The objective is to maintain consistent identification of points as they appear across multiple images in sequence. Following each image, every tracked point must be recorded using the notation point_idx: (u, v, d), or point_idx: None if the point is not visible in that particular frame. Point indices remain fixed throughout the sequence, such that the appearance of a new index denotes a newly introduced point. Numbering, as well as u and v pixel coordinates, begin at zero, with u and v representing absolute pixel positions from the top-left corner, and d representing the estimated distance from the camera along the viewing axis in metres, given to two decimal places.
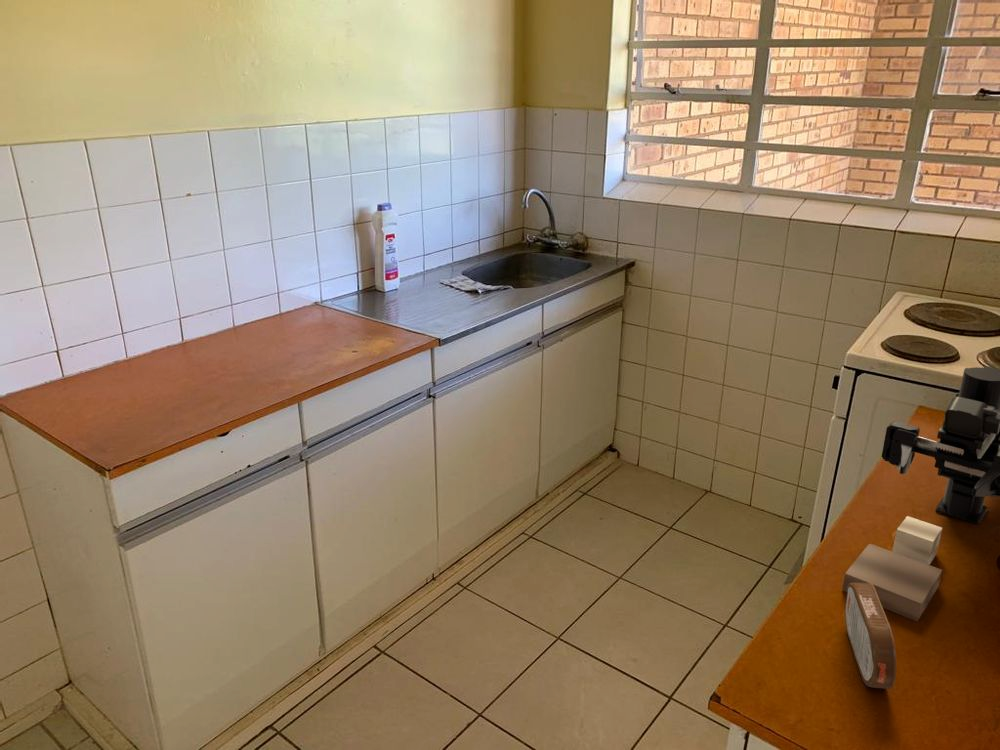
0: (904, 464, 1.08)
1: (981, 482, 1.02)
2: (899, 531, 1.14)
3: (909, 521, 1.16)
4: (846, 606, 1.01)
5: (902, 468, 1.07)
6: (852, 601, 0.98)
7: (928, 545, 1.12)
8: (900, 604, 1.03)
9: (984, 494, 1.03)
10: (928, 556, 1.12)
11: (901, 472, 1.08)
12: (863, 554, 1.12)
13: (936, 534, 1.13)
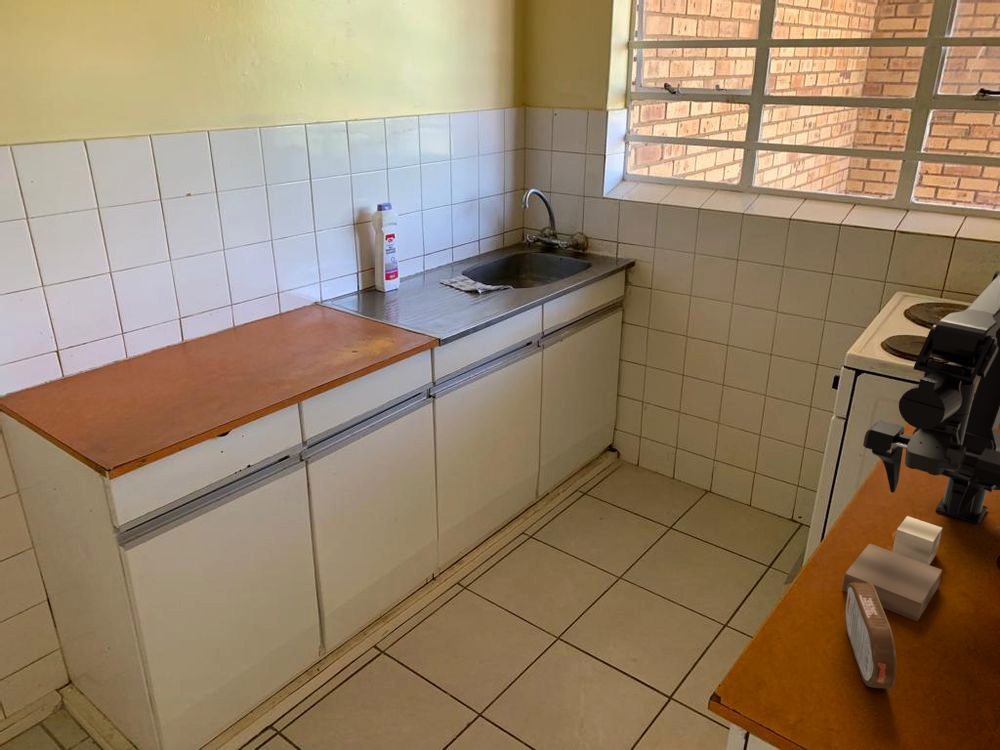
0: (892, 488, 1.15)
1: (963, 505, 1.08)
2: (899, 531, 1.14)
3: (909, 521, 1.16)
4: (846, 606, 1.01)
5: (892, 492, 1.15)
6: (852, 601, 0.98)
7: (928, 545, 1.12)
8: (900, 604, 1.03)
9: None
10: (928, 556, 1.12)
11: None
12: (863, 554, 1.12)
13: (936, 534, 1.13)
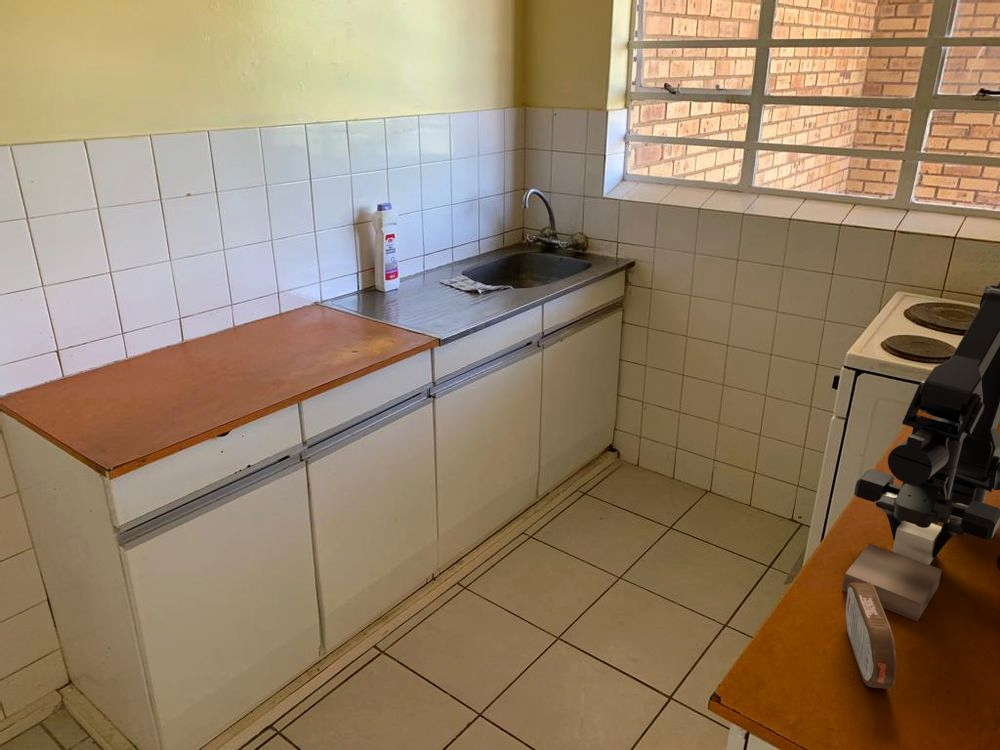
0: None
1: (936, 549, 1.13)
2: (899, 530, 1.14)
3: None
4: (846, 606, 1.01)
5: None
6: (852, 601, 0.98)
7: (928, 545, 1.12)
8: (900, 604, 1.03)
9: None
10: (928, 555, 1.12)
11: None
12: (863, 554, 1.12)
13: (936, 533, 1.13)
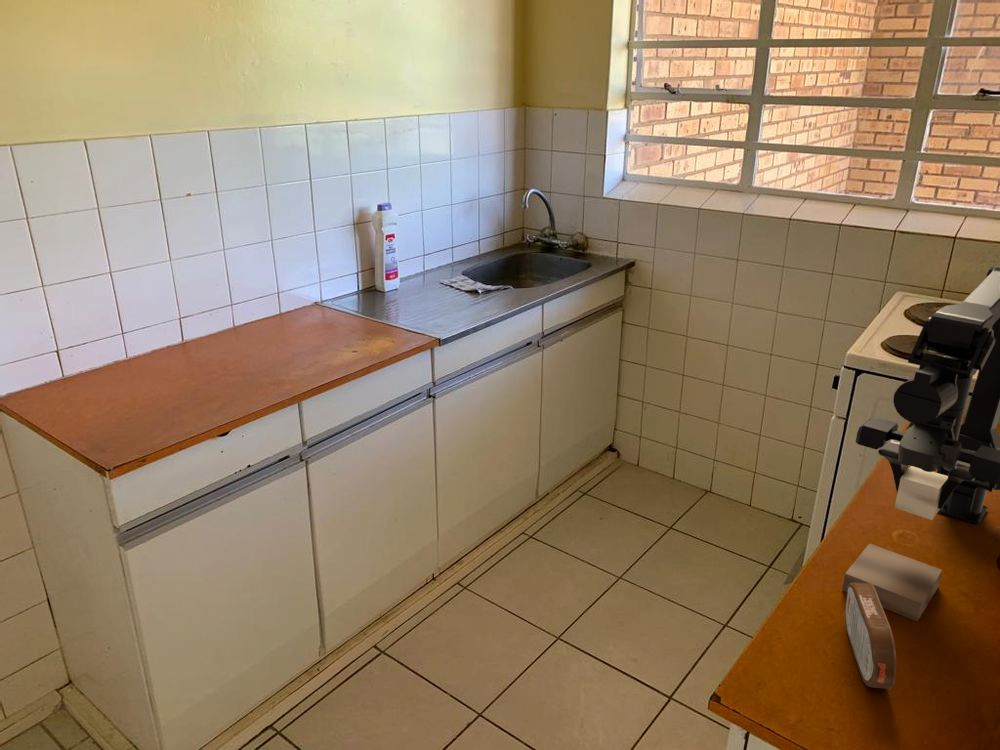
0: None
1: (942, 499, 1.06)
2: (903, 479, 1.08)
3: (913, 470, 1.10)
4: (846, 606, 1.01)
5: None
6: (852, 601, 0.98)
7: (934, 493, 1.05)
8: (900, 604, 1.03)
9: (952, 492, 1.07)
10: (934, 505, 1.06)
11: None
12: (863, 554, 1.12)
13: (942, 482, 1.06)
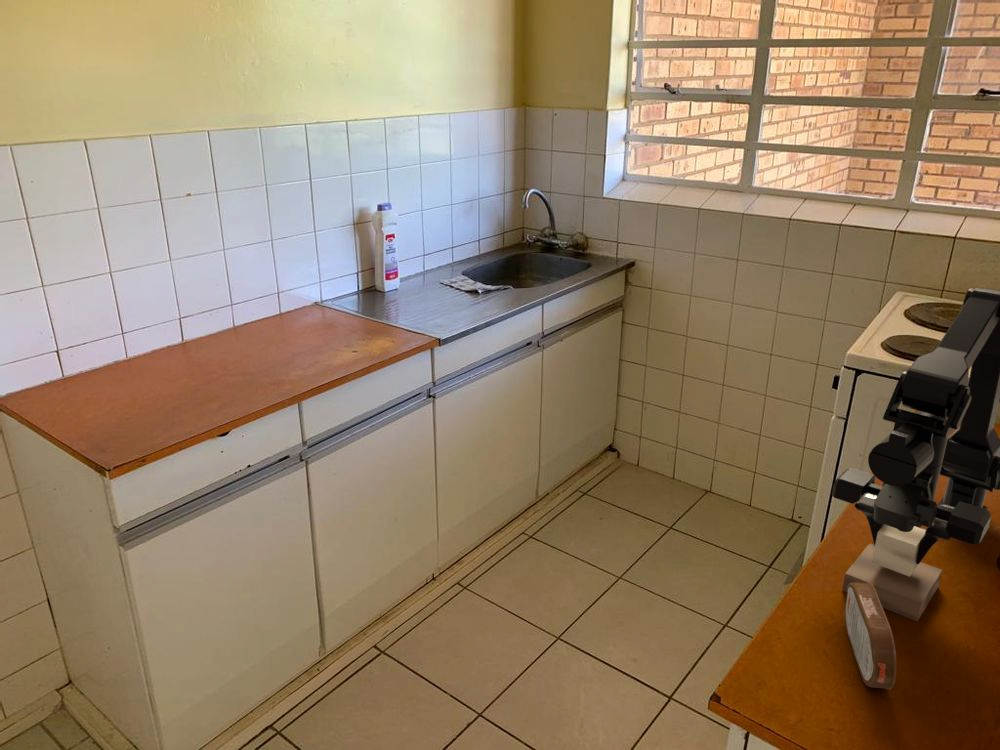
0: None
1: (920, 555, 1.03)
2: (880, 534, 1.05)
3: None
4: (846, 606, 1.01)
5: None
6: (852, 601, 0.98)
7: (911, 550, 1.03)
8: (900, 604, 1.03)
9: None
10: (911, 561, 1.03)
11: None
12: (863, 554, 1.12)
13: (920, 537, 1.04)
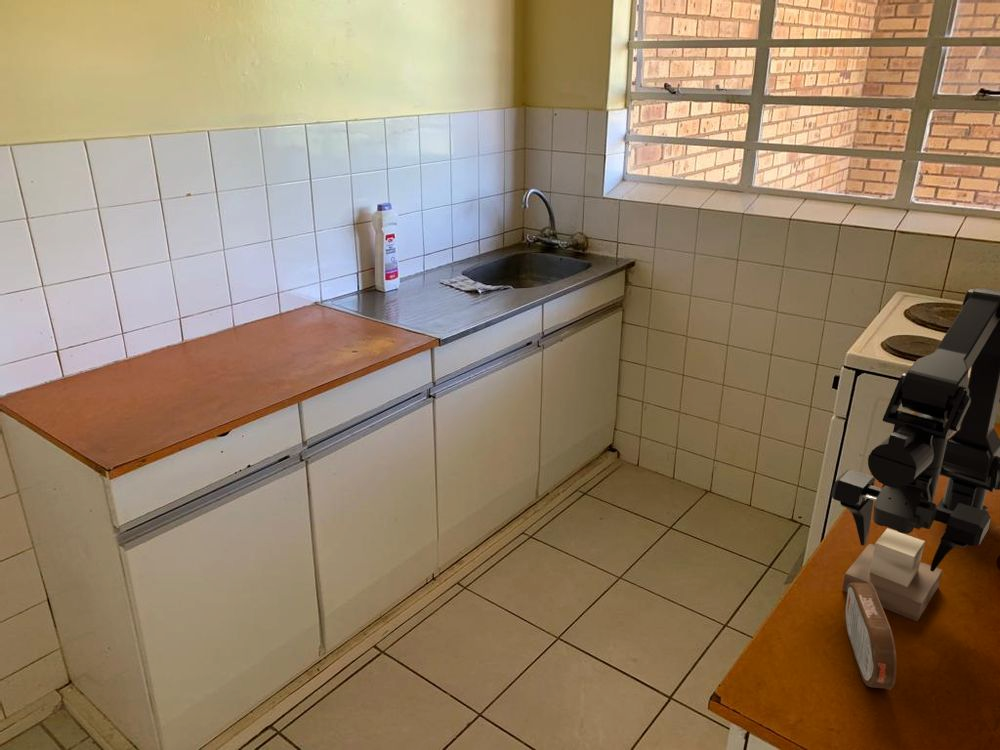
0: (862, 541, 1.09)
1: (935, 562, 1.02)
2: (878, 545, 1.05)
3: (889, 534, 1.08)
4: (846, 606, 1.01)
5: (862, 545, 1.09)
6: (852, 601, 0.98)
7: (908, 561, 1.03)
8: (900, 604, 1.03)
9: None
10: (909, 572, 1.04)
11: None
12: (863, 554, 1.12)
13: (918, 548, 1.04)
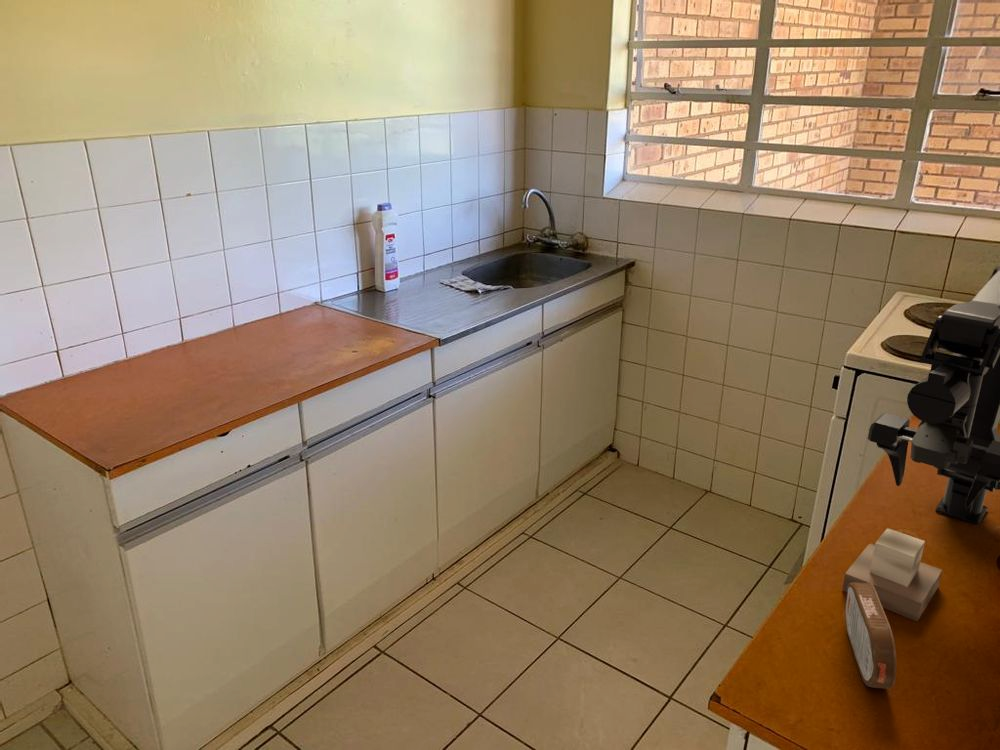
0: (898, 481, 1.13)
1: (970, 498, 1.06)
2: (878, 545, 1.05)
3: (889, 534, 1.08)
4: (846, 606, 1.01)
5: (898, 485, 1.13)
6: (852, 601, 0.98)
7: (908, 561, 1.03)
8: (900, 604, 1.03)
9: None
10: (909, 572, 1.04)
11: (899, 484, 1.14)
12: (863, 554, 1.12)
13: (918, 548, 1.04)
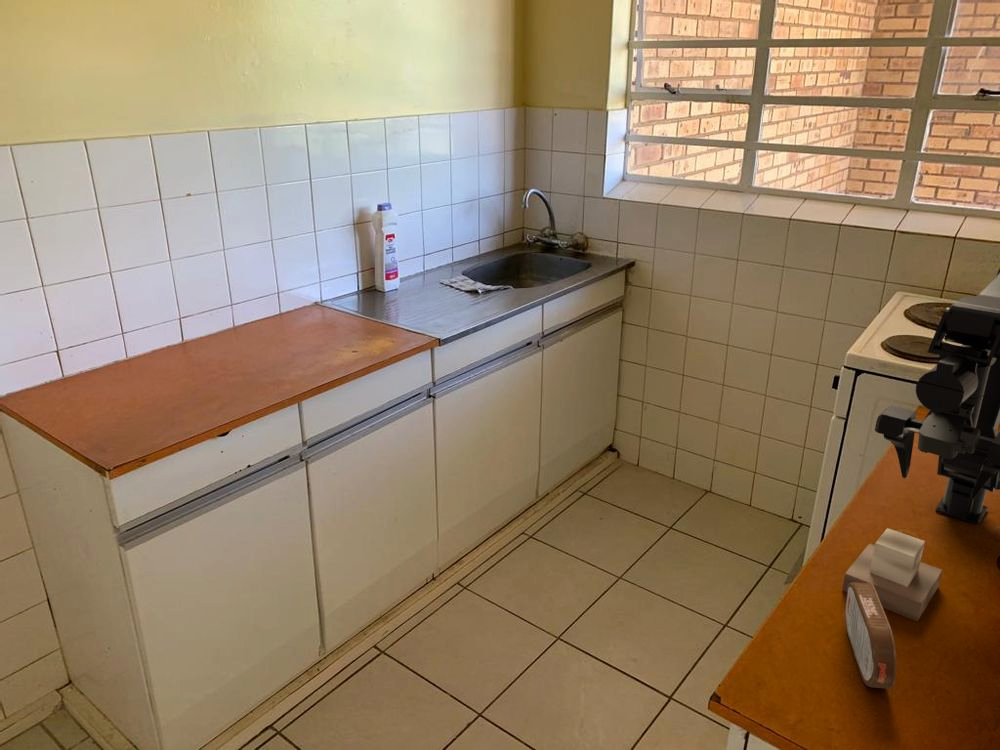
0: (904, 473, 1.14)
1: (976, 489, 1.07)
2: (878, 545, 1.05)
3: (889, 534, 1.08)
4: (846, 606, 1.01)
5: (904, 477, 1.14)
6: (852, 601, 0.98)
7: (908, 561, 1.03)
8: (900, 604, 1.03)
9: None
10: (909, 572, 1.04)
11: (905, 476, 1.15)
12: (863, 554, 1.12)
13: (918, 548, 1.04)
